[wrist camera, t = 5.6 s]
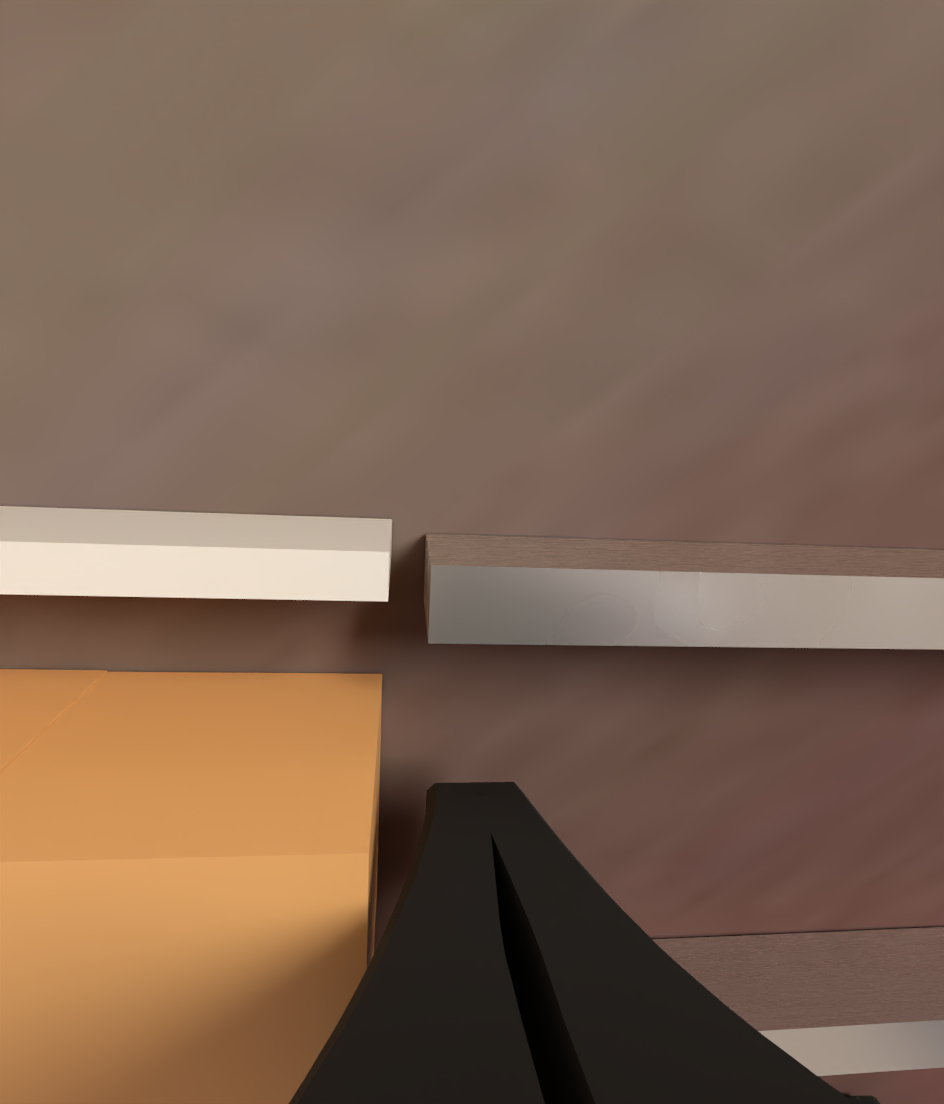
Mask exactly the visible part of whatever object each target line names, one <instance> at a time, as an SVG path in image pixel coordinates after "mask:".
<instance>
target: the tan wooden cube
mask: <svg viewBox="0 0 944 1104" xmlns="http://www.w3.org/2000/svg"><path fill="white" fill-rule="evenodd" d="M106 673H107V670H37V669H0V773H1V772H2V771H3V770H4V769H5V768H6V767H7V766H8V765H9V764H10V763H11V762H12V761H13V760H15V759H16V758H17V757H18V756H19V755H20V754H21V753H22V752H23V751H24V750H25V749H26V748H27V747H28V746H29V745H30V744H32V743H33V742H34V741H35V740H36V739H37V738H38V737H39V736H40V735H41V734H42V733H43V732H44V731H45V730H46V729H47V728H49V727H50V726H51V725H52V724H53V723H54V722H55V721H56V720H57V719H58V718H59V717H60V716H61V715H62V714H63V713H64V712H65V711H67V710H68V709H69V708H70V707H71V706H72V705H73V704H74V703H75V702H76V701H77V700H78V699H79V698H80V697H81V696H82V695H84V694H85V693H86V692H87V691H88V690H89V689H90V688H91V687H92V686H93V685H94V684H95V683H96V682H97V681H98V680H99V679H101V678H102V677H103V676H104V675H105V674H106Z"/></svg>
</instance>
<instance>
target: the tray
mask: <svg viewBox="0 0 944 1104" xmlns="http://www.w3.org/2000/svg"><path fill="white" fill-rule="evenodd" d="M391 541H392V519H372V518H342V517H312V516H282V515H252V514H222V513H192V512H162V511H132V510H102V509H72V508H42V507H12V506H0V594H13V595H66V596H119V597H172V598H225V599H278V600H331V601H384V602H388V595H389V581H390V567H391Z"/></svg>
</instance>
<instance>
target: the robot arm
mask: <svg viewBox="0 0 944 1104" xmlns="http://www.w3.org/2000/svg"><path fill="white" fill-rule="evenodd" d="M289 1104H856V1103H855V1102H853V1101H852V1100H850V1099H849V1098H847V1097H846V1096H845V1095H843V1094H842V1093H840V1092H839V1091H837V1090H836V1089H835V1088H833V1087H832V1086H830V1085H829V1084H828V1083H826V1082H825V1081H823V1080H822V1079H821V1078H819V1077H818V1076H817V1075H815V1074H814V1073H813V1072H811V1071H810V1070H809V1069H807V1068H806V1067H805V1066H803V1065H802V1064H801V1063H799V1062H798V1061H797V1060H795V1059H794V1058H793V1057H791V1056H790V1055H789V1054H788V1053H786V1052H785V1051H784V1050H782V1049H781V1048H780V1047H778V1046H777V1045H776V1044H774V1043H773V1042H772V1041H770V1040H769V1039H768V1038H766V1037H765V1036H764V1035H762V1034H761V1033H760V1032H758V1031H757V1030H756V1029H755V1028H753V1027H752V1026H751V1025H750V1024H748V1023H747V1022H746V1021H745V1020H743V1019H742V1018H741V1017H740V1016H738V1015H737V1014H736V1013H735V1012H733V1011H732V1010H731V1009H730V1008H729V1007H727V1006H726V1005H725V1004H724V1003H723V1002H721V1001H720V1000H719V999H718V998H717V997H716V996H715V995H713V994H712V993H711V992H710V991H709V990H708V989H706V988H705V987H704V986H703V985H702V984H701V983H700V982H698V981H697V980H696V979H695V978H694V977H693V976H691V975H690V974H689V973H688V972H687V971H686V970H685V969H683V968H682V967H681V966H680V965H679V964H678V963H676V962H675V961H674V960H673V959H672V958H671V957H670V956H669V955H668V954H667V953H666V952H665V951H663V950H662V949H661V948H660V947H659V946H658V945H657V944H656V943H655V942H654V941H653V940H652V939H651V938H650V937H649V936H648V935H647V934H646V933H645V932H644V931H643V930H642V929H641V928H640V927H639V926H638V925H637V924H636V923H635V922H634V921H633V920H632V919H631V918H630V917H629V916H628V915H627V914H626V913H625V912H624V911H623V910H622V909H621V908H620V907H619V906H618V905H617V903H616V902H615V901H614V900H613V899H612V898H611V897H610V896H609V895H608V894H607V893H606V892H605V891H604V890H603V888H602V887H601V886H600V885H599V884H598V883H597V882H596V880H595V879H594V878H593V877H592V876H591V875H590V874H589V873H588V871H587V870H586V869H585V868H584V867H583V866H582V865H581V864H580V862H579V861H578V860H577V859H576V858H575V857H574V856H573V854H572V853H571V852H570V851H569V850H568V848H567V847H566V846H565V845H564V844H563V842H562V841H561V840H560V839H559V838H558V836H557V835H556V834H555V833H554V831H553V830H552V829H551V828H550V826H549V825H548V824H547V823H546V821H545V820H544V819H543V818H542V816H541V815H540V814H539V813H538V811H537V810H536V809H535V807H534V806H533V805H532V804H531V802H530V801H529V800H528V798H527V797H526V796H525V795H524V793H523V792H522V791H521V789H520V788H519V787H518V786H517V785H516V784H515V783H514V782H482V783H435V784H434V785H433V786H431V787H430V788H429V789H428V790H427V798H426V815H425V820H424V825H423V829H422V833H421V836H420V840H419V844H418V847H417V850H416V853H415V856H414V859H413V862H412V865H411V867H410V870H409V873H408V876H407V879H406V882H405V885H404V887H403V890H402V892H401V895H400V897H399V900H398V902H397V904H396V907H395V909H394V911H393V913H392V916H391V918H390V920H389V923H388V925H387V927H386V929H385V932H384V934H383V936H382V939H381V941H380V943H379V945H378V947H377V949H376V951H375V954H374V956H373V958H372V960H371V962H370V964H369V966H368V968H367V970H366V972H365V974H364V976H363V977H362V979H361V981H360V983H359V985H358V987H357V989H356V991H355V993H354V994H353V996H352V998H351V1000H350V1002H349V1004H348V1006H347V1007H346V1009H345V1011H344V1013H343V1015H342V1017H341V1018H340V1020H339V1022H338V1024H337V1025H336V1027H335V1029H334V1030H333V1032H332V1034H331V1035H330V1037H329V1039H328V1040H327V1042H326V1044H325V1045H324V1047H323V1049H322V1050H321V1052H320V1054H319V1055H318V1057H317V1059H316V1060H315V1062H314V1064H313V1065H312V1067H311V1069H310V1070H309V1072H308V1074H307V1075H306V1077H305V1079H304V1080H303V1082H302V1083H301V1085H300V1087H299V1088H298V1090H297V1091H296V1093H295V1094H294V1096H293V1098H292V1099H291V1101H290V1102H289Z"/></svg>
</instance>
